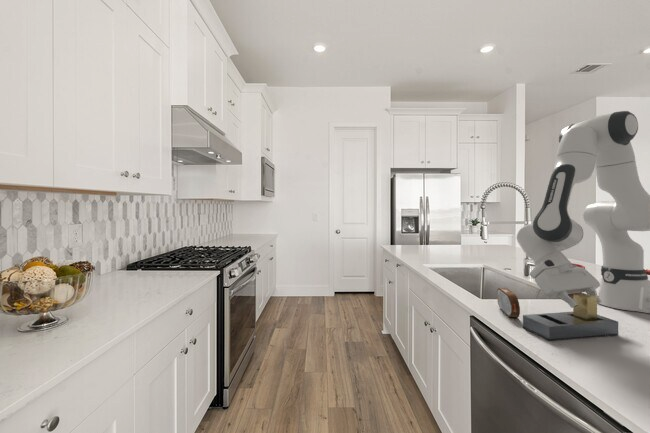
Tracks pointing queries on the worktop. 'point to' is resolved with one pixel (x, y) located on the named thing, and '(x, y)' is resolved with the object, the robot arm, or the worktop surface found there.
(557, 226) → the robot arm
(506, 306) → the tin
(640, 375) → the worktop surface
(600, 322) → the block
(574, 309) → the tan rectangular block
